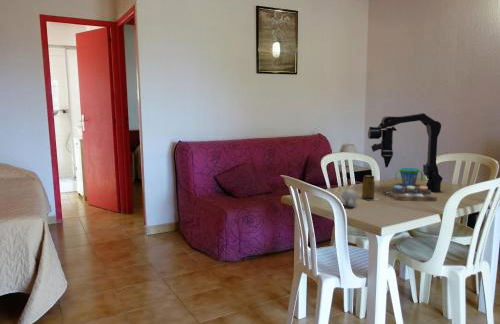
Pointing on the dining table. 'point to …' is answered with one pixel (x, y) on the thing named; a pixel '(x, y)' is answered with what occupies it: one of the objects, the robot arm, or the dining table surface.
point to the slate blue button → (397, 187)
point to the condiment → (368, 188)
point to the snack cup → (409, 176)
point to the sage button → (410, 187)
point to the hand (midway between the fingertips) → (386, 166)
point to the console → (412, 195)
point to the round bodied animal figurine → (349, 197)
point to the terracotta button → (423, 188)
